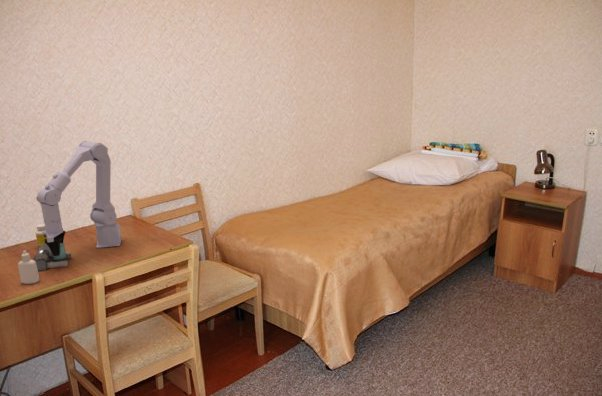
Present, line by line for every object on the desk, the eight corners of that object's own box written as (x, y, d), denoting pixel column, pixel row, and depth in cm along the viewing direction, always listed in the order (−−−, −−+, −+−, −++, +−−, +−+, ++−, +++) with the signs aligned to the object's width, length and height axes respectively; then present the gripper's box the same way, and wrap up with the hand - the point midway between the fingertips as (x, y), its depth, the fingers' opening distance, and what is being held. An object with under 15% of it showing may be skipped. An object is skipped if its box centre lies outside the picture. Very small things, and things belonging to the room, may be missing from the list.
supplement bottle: (46, 249, 194) (42, 227, 191) (35, 248, 195) (31, 227, 192) (55, 244, 199) (51, 223, 196) (44, 244, 200) (40, 222, 197)
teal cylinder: (67, 254, 184) (65, 240, 182) (65, 258, 179) (63, 245, 178) (53, 255, 182) (51, 242, 181) (51, 260, 178) (49, 246, 176)
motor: (72, 255, 188) (70, 240, 186) (66, 267, 177) (63, 252, 175) (43, 258, 185) (40, 243, 183) (34, 271, 174) (31, 255, 172)
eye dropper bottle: (31, 277, 169) (25, 247, 166) (41, 280, 167) (35, 249, 163) (19, 282, 165) (13, 251, 162) (29, 286, 163) (23, 254, 159)
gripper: (45, 214, 182) (51, 246, 186) (35, 227, 169) (41, 261, 172) (65, 213, 184) (70, 244, 188) (56, 225, 170) (62, 259, 174)
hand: (58, 252), depth 180 cm, fingers closed on teal cylinder, 5 cm apart
